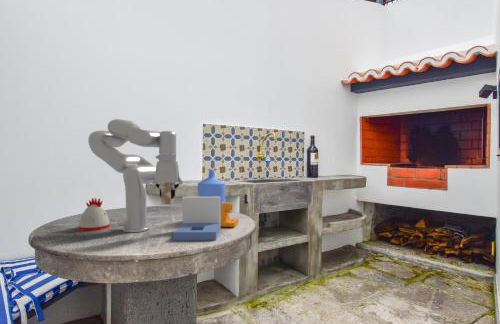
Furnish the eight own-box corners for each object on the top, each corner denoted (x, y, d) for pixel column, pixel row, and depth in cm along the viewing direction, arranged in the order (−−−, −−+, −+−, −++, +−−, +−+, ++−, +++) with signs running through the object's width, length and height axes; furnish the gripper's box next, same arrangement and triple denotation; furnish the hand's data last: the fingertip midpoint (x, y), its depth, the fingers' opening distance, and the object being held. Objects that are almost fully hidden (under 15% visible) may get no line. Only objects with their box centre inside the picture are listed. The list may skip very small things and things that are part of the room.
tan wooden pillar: (161, 204, 139) (161, 182, 138) (164, 202, 145) (165, 181, 144) (170, 204, 139) (170, 182, 138) (173, 202, 145) (173, 181, 144)
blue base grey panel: (173, 240, 130) (173, 202, 130) (183, 229, 150) (183, 196, 150) (215, 240, 131) (215, 202, 130) (220, 229, 151) (220, 196, 150)
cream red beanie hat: (100, 231, 148) (99, 200, 148) (72, 231, 149) (72, 200, 149) (114, 224, 162) (114, 196, 162) (89, 224, 163) (89, 196, 162)
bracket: (233, 228, 153) (233, 204, 152) (219, 227, 154) (219, 203, 154) (238, 223, 163) (238, 201, 163) (225, 223, 165) (225, 200, 164)
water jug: (214, 216, 185) (214, 169, 184) (231, 219, 173) (230, 170, 173) (192, 219, 174) (191, 170, 174) (208, 224, 162) (207, 171, 162)
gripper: (146, 158, 137) (146, 199, 138) (184, 158, 137) (183, 199, 138) (151, 158, 145) (151, 196, 145) (187, 158, 145) (187, 197, 145)
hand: (167, 197), depth 141 cm, fingers closed on tan wooden pillar, 4 cm apart
